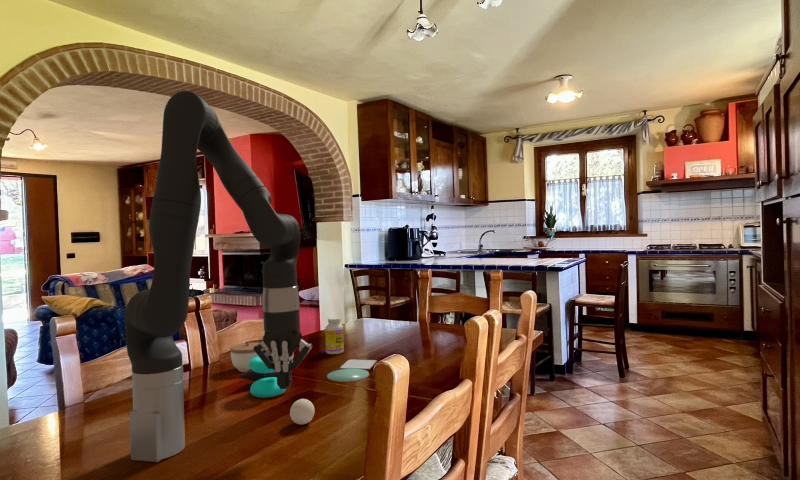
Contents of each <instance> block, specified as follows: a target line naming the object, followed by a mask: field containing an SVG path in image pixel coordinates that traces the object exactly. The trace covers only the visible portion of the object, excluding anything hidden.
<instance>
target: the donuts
mask: <svg viewBox="0 0 800 480" xmlns="http://www.w3.org/2000/svg"><path fill="white" fill-rule="evenodd" d="M271 355H272V353H271ZM272 356H273V355H272ZM249 366H250V368H251V369H252V370H253V371H254V372H257V373H272V372H276V371H275V370H273V369H268V368H267V366H266V365H265V364H264V362H263V361H262V360H261V359H260V357H259V356H257V357H255V358H253V359H252V360H251V361H250V363H249ZM249 390H250V391H249V392H250V394H251V396H253V397H255V398H260V399H266V398H267V399H268V398H274V397H278V396H280V395H283V394H284V393H285V392H286V391H287V389H280V388H279V386H278V385H277V378H276V377H269V378H263V379H260V380H258V381H256V382H255V381H253V383H252V384H251V386H250V389H249Z"/></svg>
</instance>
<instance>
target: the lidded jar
mask: <svg viewBox="0 0 800 480" xmlns="http://www.w3.org/2000/svg"><path fill="white" fill-rule="evenodd" d="M260 343H261V342H250V341H249V340H246V341H245V342H243V343H238V344H234V345H232V346H231V347H230V359H231V362H232V365H233V367H234V368H236V369H237V371H238V372H241V373H245V372H246V371H248V370H250V369H251V368H250V366H249V363H250V361H251V360H252V359H253V358H255V357H257V356H258V355H257V354H256V352H255V351H254V349H253V348H254V346H256V345H258V344H260Z"/></svg>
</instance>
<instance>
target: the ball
mask: <svg viewBox="0 0 800 480" xmlns="http://www.w3.org/2000/svg"><path fill="white" fill-rule="evenodd" d="M315 411H316V410H315V406H314V404H313V403H312V401H310V400H309V399H306V398H300V399H298V400H296V401H294V402H293V404H292V405H291V407H290V409H289V416H290V418H291V420H292V421H293V422H294V423H295V424H297V425H307V424H308V423H310V422H311V421H312V419H313V418H314V415H315Z"/></svg>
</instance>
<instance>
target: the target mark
mask: <svg viewBox="0 0 800 480" xmlns="http://www.w3.org/2000/svg"><path fill="white" fill-rule="evenodd" d="M369 376H370V373H369V371H367V369H344V368H340V369H336V370H333V371H330V372H329V373H327V374H326V378H327V380H329V381H333V382H338V383H350V382H357V381H361V380H362V381H363V380H364V379H366V378H368V377H369Z"/></svg>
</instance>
